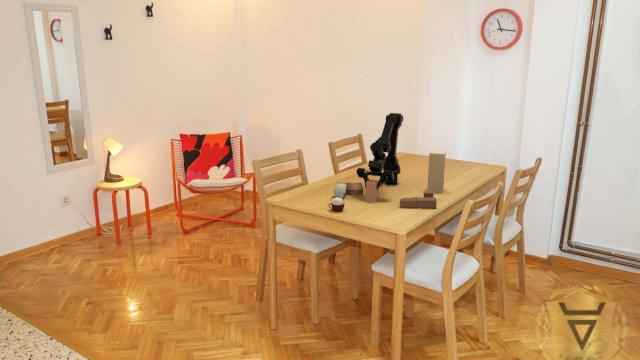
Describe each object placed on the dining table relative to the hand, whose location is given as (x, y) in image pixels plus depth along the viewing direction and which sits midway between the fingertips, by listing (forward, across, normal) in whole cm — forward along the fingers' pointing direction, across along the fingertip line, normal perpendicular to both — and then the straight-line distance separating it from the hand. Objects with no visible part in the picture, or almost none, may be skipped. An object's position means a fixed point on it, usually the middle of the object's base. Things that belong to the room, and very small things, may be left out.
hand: (371, 188), depth 261 cm
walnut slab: (-4, -16, +13) cm, 21 cm away
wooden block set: (+1, +22, +9) cm, 24 cm away
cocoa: (+19, -10, -9) cm, 23 cm away
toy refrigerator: (-17, +26, +26) cm, 41 cm away
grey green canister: (+5, -17, +5) cm, 18 cm away
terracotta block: (+4, 0, +6) cm, 7 cm away
